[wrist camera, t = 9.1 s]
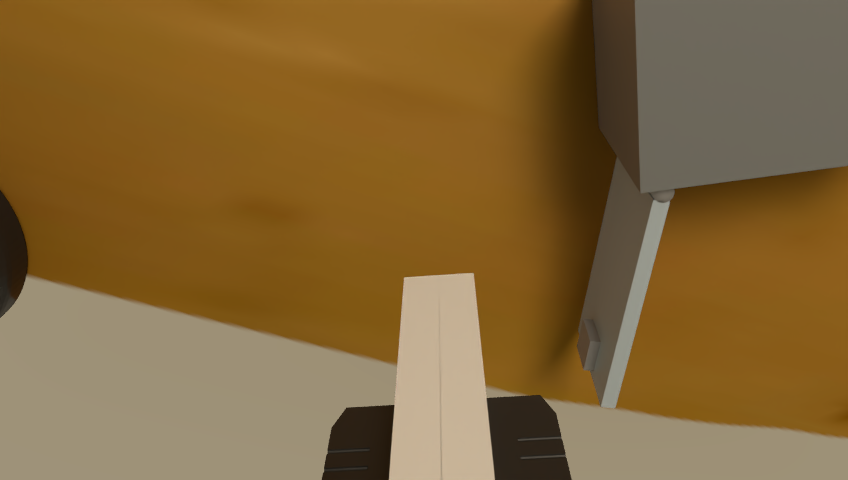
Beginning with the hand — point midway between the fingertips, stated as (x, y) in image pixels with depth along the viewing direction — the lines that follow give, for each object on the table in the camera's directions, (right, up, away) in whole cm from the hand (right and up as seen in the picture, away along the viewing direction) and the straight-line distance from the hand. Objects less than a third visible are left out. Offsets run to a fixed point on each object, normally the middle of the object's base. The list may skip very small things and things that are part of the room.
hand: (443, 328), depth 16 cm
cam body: (+18, +14, +23) cm, 32 cm away
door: (+10, +2, +27) cm, 29 cm away
